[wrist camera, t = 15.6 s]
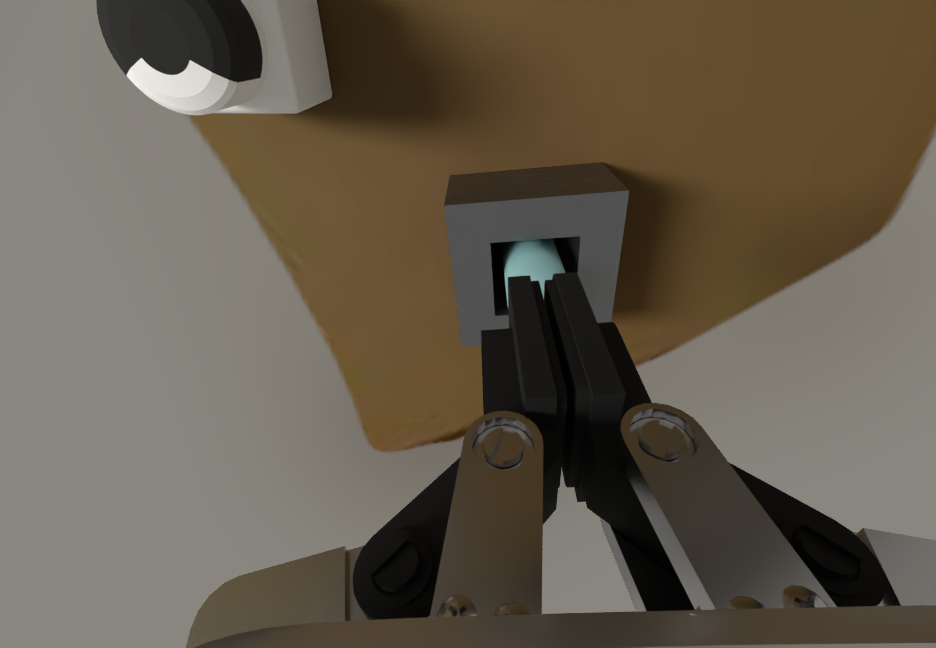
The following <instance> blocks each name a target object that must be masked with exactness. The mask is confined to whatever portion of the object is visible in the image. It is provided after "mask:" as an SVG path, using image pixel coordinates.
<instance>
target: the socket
mask: <svg viewBox="0 0 936 648" xmlns="http://www.w3.org/2000/svg"><path fill="white" fill-rule="evenodd" d="M628 197H629V190H628V189H627V188H626V186H625V185H624V184H623V183H622V182H621V181H620V180H619V179H618V178H617V177H616V176H615V175H614V174H613V173H612V172H611V171H610V170H609V169H608V168H607V167H606V166H605V165H604V164H603V163H602V162H601V163H590V164H578V165H566V166H555V167H543V168H532V169H520V170H509V171H497V172H485V173H474V174H462V175H451V176H450V178H449V183H448V188H447V193H446V198H445V204H444V209H445V217H446V225H447V233H448V241H449V249H450V257H451V265H452V273H453V281H454V288H455V296H456V304H457V312H458V320H459V328H460V336H461V344H462V347H467V346H481V330H494V329H509V310H508V305H507V296H506V286H505V277H504V272H503V273H492V259H491V243H496V242H509V241H523V240H536V239H550V238H561V262H562V265H563V267H564V270H565V273H570V272H577V274H578V276H579V279H580V281H581V283H582V286H583V288H584V291H585V293H586V296H587V298H588V301H589V303H590V306H591V308H592V311H593V313H594V316H595V318H596V321H597V323H603V322H611V319H612V312H613V305H614V297H615V290H616V283H617V276H618V269H619V262H620V254H621V247H622V240H623V233H624V226H625V219H626V211H627V204H628Z"/></svg>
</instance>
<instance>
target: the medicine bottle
mask: <svg viewBox="0 0 936 648" xmlns="http://www.w3.org/2000/svg"><path fill="white" fill-rule="evenodd" d="M97 14H98V19H99V24H100V27H101V31H102V34H103V37H104V39H105V41H106V44H107V46H108V48H109V50H110V52H111V54H112V55H113V57H114V59H115V60H116V62H117V64H118V65H119V67H120V68H121V69H122V70H123V72H124V73H125V75H126V76H127V77H128V78H129V79H130V80H131V81H132V82H133V83H134V85H135V86H136V87H138V88H139V89H140V90H141V91H142V92H143V93H144V94H146V95H147V96H148V97H150V98H151V99H152V100H154V101H155V102H157V103H159V104H160V105H162V106H164V107H166V108H168V109H171V110H173V111H176V112H179V113H183V114H188V115H204V114H209V113H269V114H296V113H299V112H301V111H304V110H306V109H308V108H310V107H313V106H315V105H317V104H320V103H322V102H324V101H326V100H329V99H330V98H331V97H332V90H331V84H330V78H329V72H328V66H327V60H326V54H325V47H324V41H323V35H322V29H321V23H320V17H319V11H318V5H317V0H97Z"/></svg>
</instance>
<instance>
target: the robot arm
mask: <svg viewBox="0 0 936 648" xmlns="http://www.w3.org/2000/svg"><path fill="white" fill-rule="evenodd" d="M508 310H509V329H494V330H481V347H482V377H483V407H484V415H483V416H481V417H480V418H478V419H477V420H475V421H474V422H473V423H472V425H471V426H470V427H469V428H468V430H467V432H466V435H465V437H464V441H463V447H462V452H461V457H460V458H459V459H458V460H457V461H456V462H454V463H453V464H452V465H451V466H450V467H449V468H448V469H447V470H446V471H444V472H443V473H442V474H441V475H440V476H439V477H438V478H437V479H436V480H434V481H433V482H432V484H430V485H429V486H428V487H427V488H426V489H425V490H423V491H422V492H421V493H420V494H419V495H418V496H417V497H416V498H415V499H413V500H412V501H411V502H410V503H409V504H408V505H407V506H406V507H405V508H404V509H402V510H401V511H400V512H399V513H398V514H397V515H396V516H395V517H394V518H392V519H391V520H390V521H389V522H388V523H387V524H386V525H385V526H384V527H383V528H381V529H380V530H379V531H378V532H377V533H376V534H375V535H374V536H373V537H372V538H371V539H370V540H369V541H368V543H366V545H365V546H362V547H358V548H355V549H351V550H348V551H347V549H346V547H345V546H344V547H340V548H337V549H333V550H330V551H326V552H323V553H319V554H315V555H312V556H309V557H305V558H301V559H298V560H294V561H291V562H287V563H284V564H280V565H277V566H273V567H270V568H266V569H263V570H259V571H255V572H252V573H248V574H245V575H241V576H238V577H236V578H234V579H232V580H230V581H228V582H225V583H224V584H223V585H222V586H220V587H219V588H218V589H217V590H216V591H214V592H213V593H212V594H211V595H210V596H209V597H208V599H207V600H206V601H205V603H204V604H203V605H202V607H201V608H200V609H199V611H198V613H197V615H196V618H195V620H194V622H193V625H192V627H191V630H190V634H189V638H188V642H187V646H186V648H936V540H929V539H923V538H918V537H912V536H907V535H901V534H895V533H889V532H883V531H878V530H872V529H866V528H862V529H861V530H860V531H859V532H858V533H855V532H852V531H850V530H849V529H847V528H846V527H844V526H843V525H841V524H839V523H838V522H837V521H835V520H833V519H832V518H830V517H828V516H826V515H824V514H822V513H821V512H819V511H817V510H815V509H813V508H811V507H810V506H808V505H806V504H804V503H802V502H800V501H798V500H797V499H795V498H793V497H791V496H789V495H788V494H786V493H784V492H782V491H780V490H778V489H777V488H775V487H773V486H771V485H769V484H767V483H765V482H764V481H762V480H760V479H758V478H756V477H754V476H753V475H751V474H749V473H747V472H745V471H744V470H741V469H740V468H738V467H736V466H734V465H732V464H730V463H729V462H728V461H727V460H726V458H725V457H724V456H723V454H722V453H721V452H720V450H719V449H718V448H717V446H716V445H715V444H714V442H713V441H712V440H711V438H710V437H709V436H708V434H707V433H706V432H705V430H704V429H703V428H702V427H701V426H700V425H699V423H698V422H697V421H696V420H695V419H694V418H693V417H691V416H690V415H688V414H686V413H685V412H683V411H682V410H679V409H677V408H674V407H672V406H669V405H664V404H658V403H652V402H651V400H650V398H649V396H648V394H647V391H646V389H645V387H644V385H643V383H642V381H641V379H640V376H639V374H638V372H637V370H636V368H635V365H634V363H633V361H632V359H631V357H630V355H629V352H628V350H627V348H626V346H625V344H624V341H623V339H622V337H621V335H620V333H619V331H618V328H617V327H616V325H615V323H613V322H603V323H597V321H596V318H595V316H594V313H593V311H592V308H591V306H590V303H589V301H588V298H587V296H586V293H585V291H584V288H583V286H582V283H581V281H580V279H579V276H578V274H577V272H570V273H556V274H553V277H552V280H545V284H544V299H543V295H542V291H541V287H540V283H539V281H531V278H530V275H528V276H514V277H508ZM561 466H562V471H563V476H564V481H565V485H566V487H574V488H575V492H576V497H577V501H578V502H583V501H584V502H585V501H586V504H587V508H588V509H590V510H591V511H592V512H594V513H595V514H596V515H598V516H599V517H600V518H601V523H602V528H603V531H604V533H605V536H606V538H607V541H608V543H609V546H610V548H611V551H612V553H613V555H614V558H615V560H616V563H617V565H618V568H619V570H620V573H621V575H622V578H623V580H624V582H625V585H626V587H627V590H628V592H629V595H630V597H631V600H632V602H633V604H634V607H635V609H636V612H606V613H605V612H604V613H565V614H542V535H543V529H542V528H543V524H544V523H545V521H546V520H547V519H548V518H549V517H550V516H551V514H552V513H553V512H554V511H555V510H556V503H557V493H558V488H559V486H560V476H561Z"/></svg>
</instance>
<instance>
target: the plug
mask: <svg viewBox="0 0 936 648" xmlns="http://www.w3.org/2000/svg"><path fill="white" fill-rule="evenodd" d="M501 248H502V258H503V267H504V277H505V286H506V296H507V305H508V277H514V276H528V275H530V278H531V281H539V283H540V287H541V291H542V295H543V299H544V284H545V280H552V277H553V274H556V273H565V270H564V267H563V265H562V262H561V259H560V256H559V254H558V251H557V248H556V245H555V243H554V240H553V238H550V239H536V240H523V241H509V242H501Z"/></svg>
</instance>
